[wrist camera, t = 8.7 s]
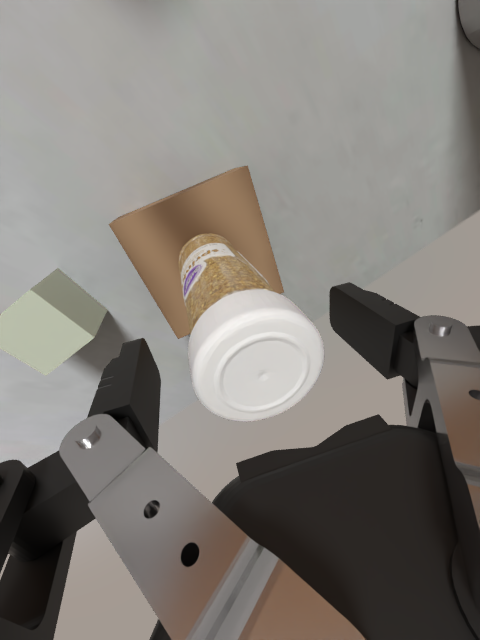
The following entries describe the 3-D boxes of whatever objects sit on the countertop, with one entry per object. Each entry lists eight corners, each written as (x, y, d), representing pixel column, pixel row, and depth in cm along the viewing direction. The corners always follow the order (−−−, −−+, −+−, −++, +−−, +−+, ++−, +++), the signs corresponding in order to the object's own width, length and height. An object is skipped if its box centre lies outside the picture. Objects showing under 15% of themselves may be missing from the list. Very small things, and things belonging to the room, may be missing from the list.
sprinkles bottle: (185, 224, 18) (215, 296, 7) (244, 242, 20) (353, 326, 8) (172, 285, 20) (177, 426, 8) (227, 296, 21) (297, 429, 10)
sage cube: (58, 267, 21) (30, 289, 17) (108, 309, 24) (94, 337, 19) (14, 304, 22) (-24, 334, 17) (67, 341, 24) (46, 375, 20)
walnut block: (234, 168, 21) (247, 165, 17) (268, 277, 26) (284, 291, 22) (118, 217, 20) (108, 224, 17) (176, 317, 26) (178, 338, 22)
